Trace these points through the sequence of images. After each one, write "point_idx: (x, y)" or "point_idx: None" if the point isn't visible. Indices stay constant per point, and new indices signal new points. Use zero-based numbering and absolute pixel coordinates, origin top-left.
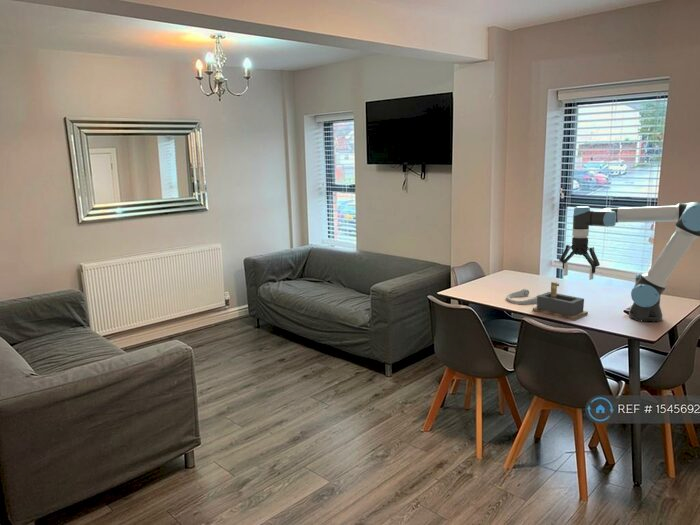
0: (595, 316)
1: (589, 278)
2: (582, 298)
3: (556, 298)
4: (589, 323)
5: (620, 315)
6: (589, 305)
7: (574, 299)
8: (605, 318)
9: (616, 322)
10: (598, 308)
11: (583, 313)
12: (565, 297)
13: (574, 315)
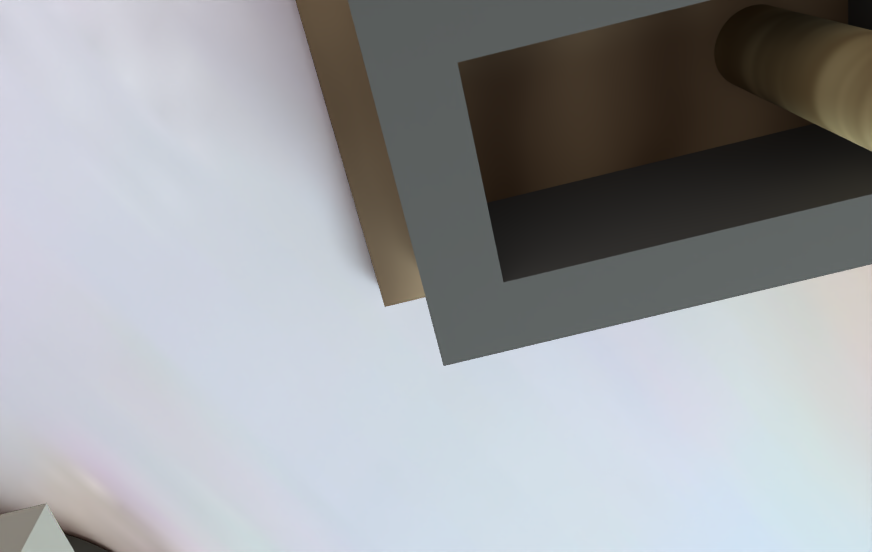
0: (286, 305)
1: (21, 533)
2: (464, 355)
3: (826, 174)
4: (98, 20)
5: (187, 524)
6: (589, 528)
7: (543, 262)
8: (176, 337)
9: (4, 324)
10: (469, 525)
11: (363, 209)
12: (697, 228)
13: None
